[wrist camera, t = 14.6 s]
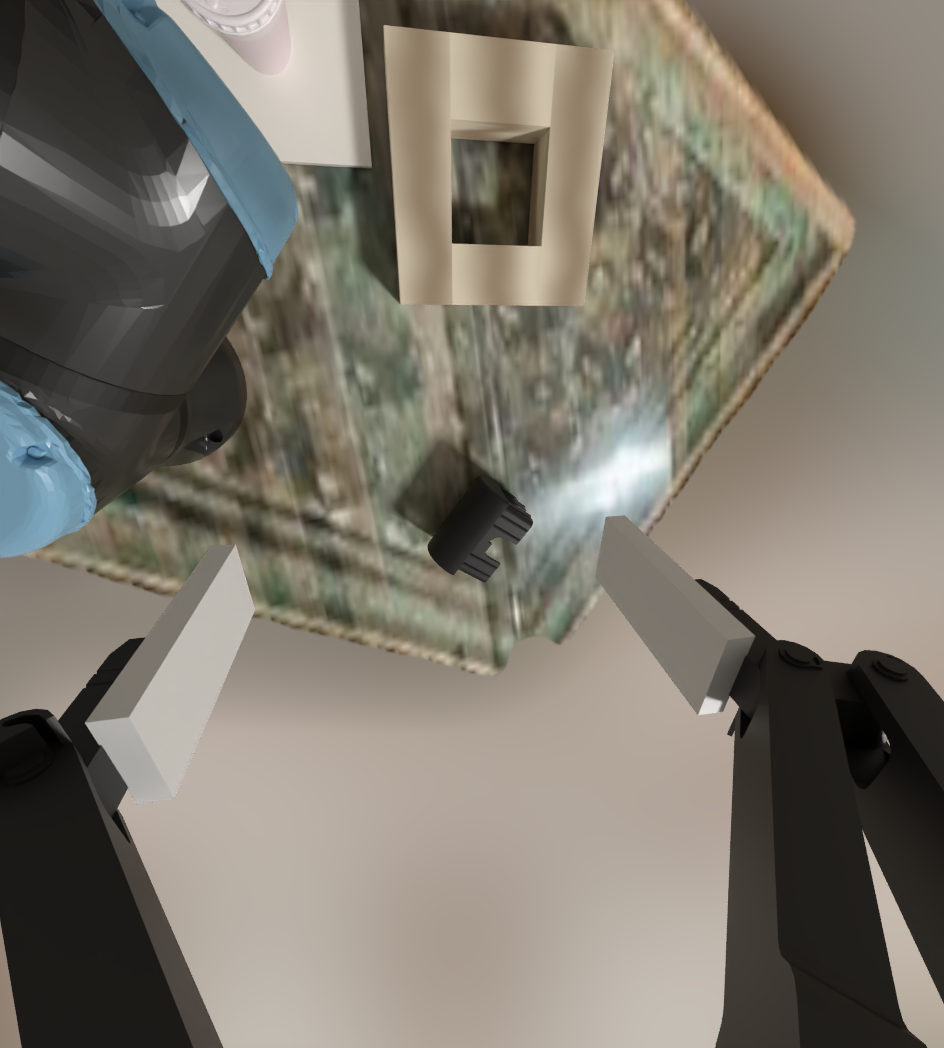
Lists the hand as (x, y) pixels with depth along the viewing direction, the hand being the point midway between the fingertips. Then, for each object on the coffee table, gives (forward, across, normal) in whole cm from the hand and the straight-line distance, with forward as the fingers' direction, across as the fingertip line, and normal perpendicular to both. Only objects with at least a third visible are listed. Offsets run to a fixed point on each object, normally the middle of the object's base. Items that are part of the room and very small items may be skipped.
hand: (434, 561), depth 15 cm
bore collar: (+31, +8, +16) cm, 36 cm away
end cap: (+31, +7, -14) cm, 35 cm away
